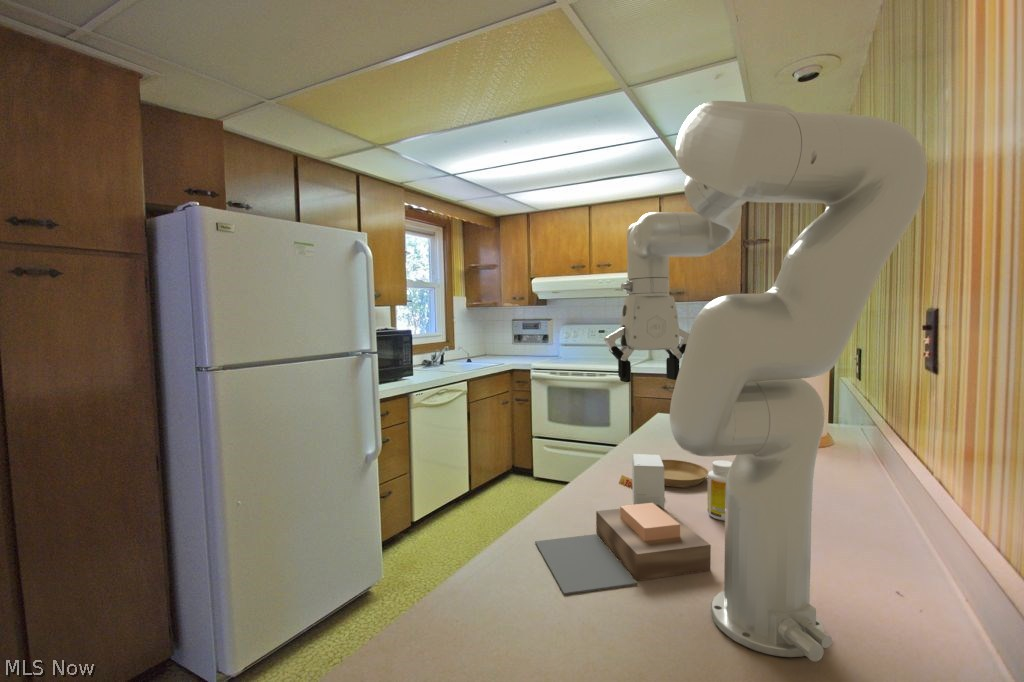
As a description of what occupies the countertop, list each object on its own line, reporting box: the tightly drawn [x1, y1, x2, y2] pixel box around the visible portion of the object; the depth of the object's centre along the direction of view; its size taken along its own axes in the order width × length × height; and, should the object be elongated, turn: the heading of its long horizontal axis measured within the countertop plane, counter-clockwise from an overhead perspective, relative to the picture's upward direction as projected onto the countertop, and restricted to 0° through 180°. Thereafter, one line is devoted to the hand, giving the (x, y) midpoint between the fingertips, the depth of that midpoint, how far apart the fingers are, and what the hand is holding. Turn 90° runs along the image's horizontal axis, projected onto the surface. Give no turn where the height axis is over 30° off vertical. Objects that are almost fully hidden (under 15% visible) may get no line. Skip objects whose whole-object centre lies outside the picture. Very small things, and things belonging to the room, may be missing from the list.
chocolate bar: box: [618, 474, 666, 499], centre depth 109 cm, size 3×12×2 cm, turn 30°
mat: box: [535, 533, 638, 596], centre depth 78 cm, size 16×11×1 cm
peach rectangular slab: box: [619, 503, 680, 541], centre depth 82 cm, size 9×6×2 cm, turn 12°
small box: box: [631, 453, 666, 510], centre depth 97 cm, size 8×6×10 cm
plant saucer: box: [662, 459, 710, 488], centre depth 116 cm, size 15×15×3 cm
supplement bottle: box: [707, 459, 733, 522], centre depth 94 cm, size 6×6×10 cm
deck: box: [595, 505, 712, 582], centre depth 82 cm, size 16×12×4 cm
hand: (649, 380), depth 94 cm, fingers open, 9 cm apart
